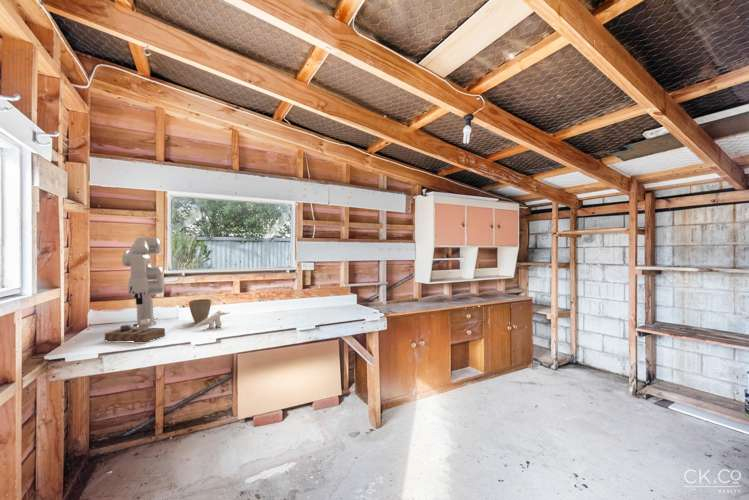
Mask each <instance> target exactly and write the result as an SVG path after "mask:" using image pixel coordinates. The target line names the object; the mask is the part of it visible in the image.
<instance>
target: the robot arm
mask: <svg viewBox="0 0 749 500" xmlns="http://www.w3.org/2000/svg"><path fill="white" fill-rule="evenodd" d="M161 252H162V244H161V241H160V240H159V238H157V237H149V236H147V237H137V238H136V239H135V240H134V243H133V244H132V245H131V247H130V248H128V249H126V250H125V251H123V255H122V257H121V263H122V265H123V266H125V267H130V277H129V280H128V286H127V293H128V294H129V295H130V297H134V299H135V305H136V320H137V321H136V324H138V327H141V328H143V326H141V323H140V320H143V319H150V324H149V325H148V327H150V326H154V325H156V324H157V321H156V320H158V319H159V317H158V316H154V301H153V298H152V297H151V296H149V295H156V294H157V295H159V294H162V293H164V291H165V279H164V278H165V273H164V268H163V267H161V266H152V259H151V257H150V255H158V254H160V253H161Z"/></svg>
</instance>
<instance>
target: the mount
mask: <svg viewBox="0 0 749 500" xmlns="http://www.w3.org/2000/svg"><path fill="white" fill-rule="evenodd" d="M138 328H139V330H138V331H132V326H130V330H129V331H123V332H122V331H121V328H118V329H116V330H112V331H108V332H105V333H104V341H105V340H107V341H134V342H148V341H150V340H153V339H156V340H158V339H161V338H163V337H165V336H166V328H165V327H148V331H147V332H143V327H138ZM160 337H161V338H160ZM157 338H158V339H157ZM153 341H154V340H153ZM150 342H151V341H150ZM148 343H149V342H148Z"/></svg>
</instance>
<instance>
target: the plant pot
mask: <svg viewBox="0 0 749 500" xmlns="http://www.w3.org/2000/svg"><path fill="white" fill-rule="evenodd" d="M188 305H189V310H190V315H191V317H192V319H193V321H194V323H196V324H198V323H200V322H202V321H203V320H205V319H206V318H209V314H210V310H211V306H212V299H210V298H209V299H208V298H207V299H206V298H205V299H204V298H202V299H193V300H189V301H188Z"/></svg>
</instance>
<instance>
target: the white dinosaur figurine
mask: <svg viewBox="0 0 749 500" xmlns="http://www.w3.org/2000/svg"><path fill="white" fill-rule="evenodd" d="M230 313H231V312H230V311H229V312H225V311H222V310H220V309H219V310H217V311H215V313H213V314H211V315H210V316H208V317H207V318H206V319H205V320H203V321H202V322H200V323H196V324H194V326H193V328H194V327H200V326H203V325H208V328H209V329H213V328H214V325H215V327H217V328H221V327H222V321H221V316H224V315H228V314H230Z"/></svg>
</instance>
